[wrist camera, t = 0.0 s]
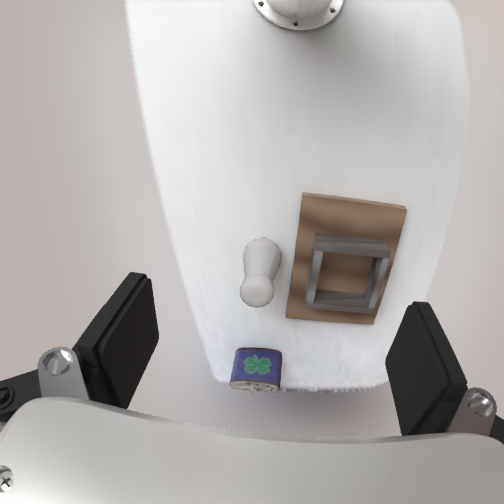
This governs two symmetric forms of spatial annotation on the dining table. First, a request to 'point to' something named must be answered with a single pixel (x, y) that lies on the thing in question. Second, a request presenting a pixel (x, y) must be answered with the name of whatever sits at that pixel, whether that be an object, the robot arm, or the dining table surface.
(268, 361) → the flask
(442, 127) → the dining table surface
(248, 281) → the salt shaker
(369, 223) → the holder board
